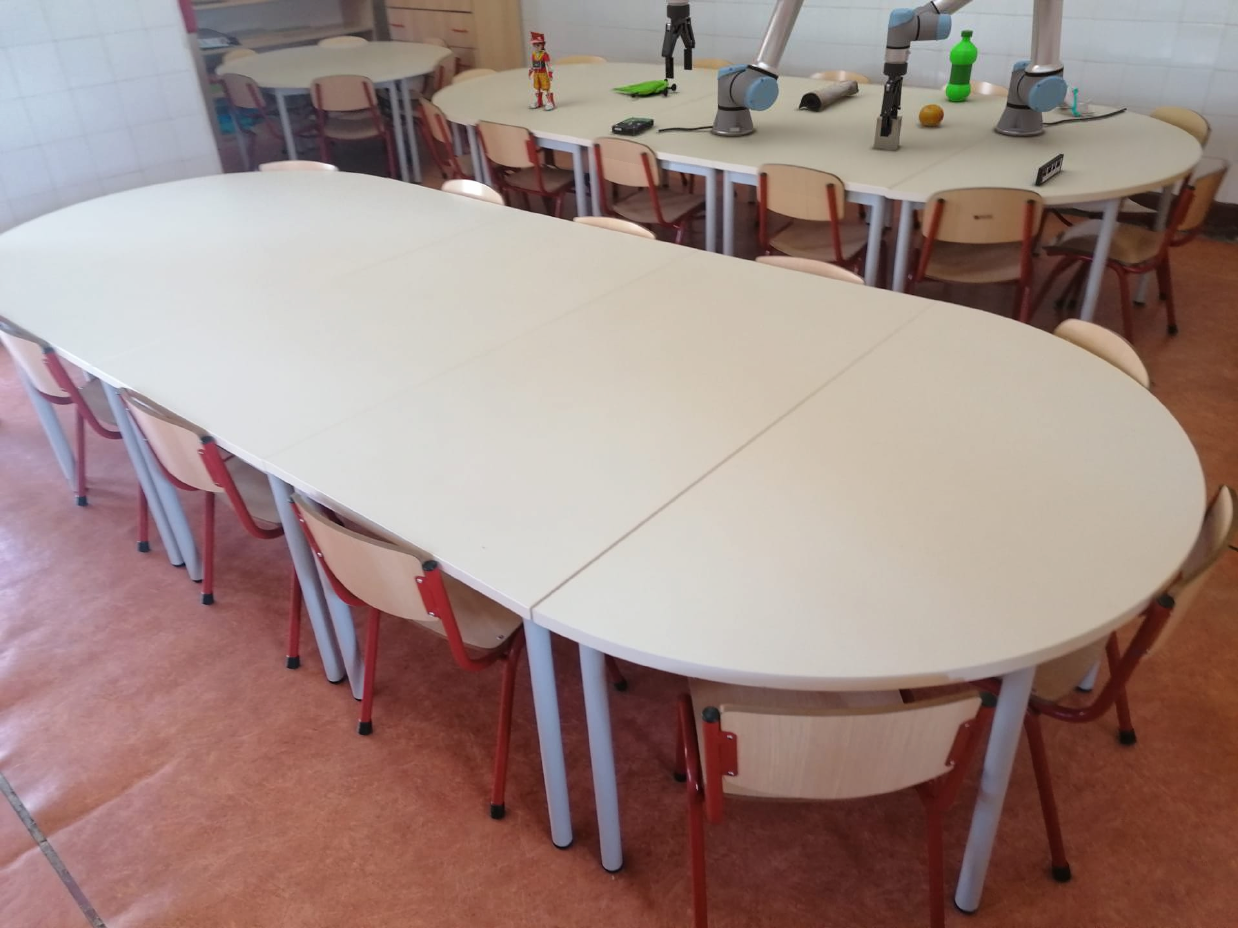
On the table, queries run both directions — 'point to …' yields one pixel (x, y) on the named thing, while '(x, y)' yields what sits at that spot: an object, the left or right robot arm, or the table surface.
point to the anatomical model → (1075, 103)
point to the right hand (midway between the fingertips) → (887, 133)
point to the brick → (894, 134)
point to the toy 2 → (648, 88)
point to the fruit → (931, 115)
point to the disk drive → (632, 126)
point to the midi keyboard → (1049, 169)
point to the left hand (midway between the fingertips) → (679, 74)
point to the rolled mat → (828, 94)
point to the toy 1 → (541, 71)
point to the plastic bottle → (961, 68)
